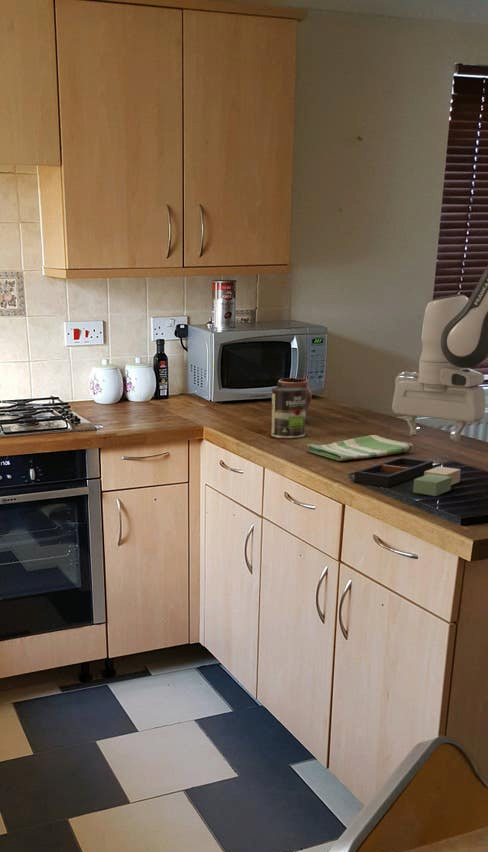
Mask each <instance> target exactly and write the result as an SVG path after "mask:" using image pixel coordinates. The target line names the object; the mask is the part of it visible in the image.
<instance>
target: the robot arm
mask: <svg viewBox="0 0 488 852" xmlns="http://www.w3.org/2000/svg"><path fill="white" fill-rule="evenodd" d="M421 344H422V351H421V353H420V357H419V363H418V364H419V366H418V371H417V372H416V371H414V372H411V371H410V372H409V371H402V372H401V373H399V374H397V376H396V377H395V381H394V382H395V383H394V387H395V388H394V393H393V398H392V404H391V410H392V412H393V413H394V414H395V415H403V416H406V419H405V420H406V423H407V425H408V427H409V428H410V429H409V430H410V431H409V436H411V437H419V436H420V435H421V427H418V426H417V423H416V420H417V419H418V417H419V418H420V417H421V418H429V419H430V418H431V419H438V420H446V421H455V426H456V427H457V428H456V429H455V430H454V431H453V432H450V433H449V441H450V442H456V443H457V442H459V441H460V439H461V433H463V430H464V429H465V428H466V426H467V423H473V424H474V423H479V422H480V421H482V420H483V418H484V417H485V415H486V391H485V389H484V387H483V386H482V384H483V383H484V382H485V375H484V373H481V372H480V371H477V370H475V369H472V368H473V367H475V366H477V365H480V364H482V363H484V362H488V265H487V266H486V268H485V269H484V272H483V273H482V275H481V277H480V278H479V281H478V283H477V284H476V286H475V288H474V289H473V291H472V293H471V295H470V296H469V298H468V297H467V296H466V295H464V294H460V293H459V294H458V293H456V294H450V295H444V296H439V297H435V298H433V299H431V300H430V301H429V302H428V304H427V306H426V307H425V311H424V315H423V321H422V329H421Z"/></svg>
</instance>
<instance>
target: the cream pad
mask: <svg viewBox="0 0 488 852" xmlns="http://www.w3.org/2000/svg"><path fill="white" fill-rule="evenodd" d="M461 471H462V469H461V468H455V467H446V466H440V465H439V466H435V467H433V469H430V470H427V471H425V472H424V474H423V476H425V475H428V474H434V475H441V476H448V477H452V480H451V486H453V485H455V484H458V483H461V473H462V472H461Z"/></svg>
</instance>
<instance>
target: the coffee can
mask: <svg viewBox="0 0 488 852" xmlns="http://www.w3.org/2000/svg"><path fill="white" fill-rule="evenodd" d="M306 390H307V389H306V388H304V387H277V386H276V387H272V388H271V434H270V436H271V437H273V438H276V439H300V438H303V437H305V436H306V416H305V410H306Z"/></svg>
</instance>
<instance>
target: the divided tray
mask: <svg viewBox="0 0 488 852" xmlns="http://www.w3.org/2000/svg"><path fill="white" fill-rule="evenodd" d="M433 468H434V461H433V460H426V459H419V458H412V457H402V456H399V457H396V458H393V459H390V460H387V461H383V462H381V463H377V464H374V465H372V466H368V467H365V468H362V469H359V470H356V471H354V478H353V479H354V483H359V484H364V485H371V486H372V485H373V486H377V487H383V488H390V487H394V486H396V485H399V484H402V483H404V482H407V481H409V480H412V479H416V478H419V477H422V476H424V472H425V471H427V470H430V469H433Z"/></svg>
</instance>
